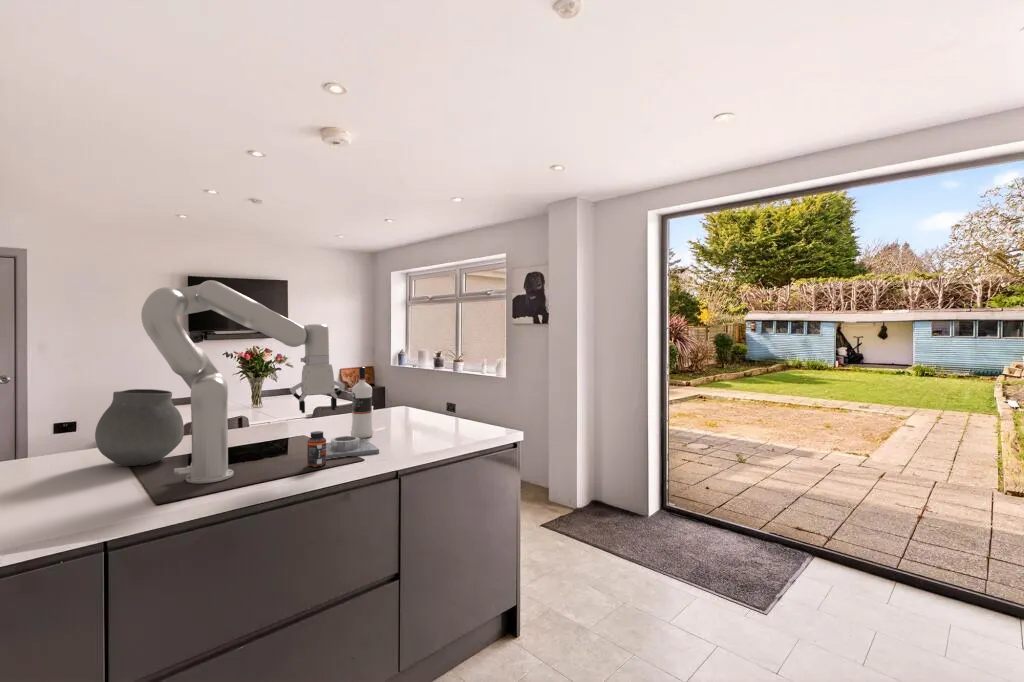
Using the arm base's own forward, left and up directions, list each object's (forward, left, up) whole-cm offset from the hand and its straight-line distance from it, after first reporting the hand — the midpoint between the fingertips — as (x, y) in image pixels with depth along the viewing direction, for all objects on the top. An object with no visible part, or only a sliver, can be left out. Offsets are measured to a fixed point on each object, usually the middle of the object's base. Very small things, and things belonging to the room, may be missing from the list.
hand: (318, 411), depth 169 cm
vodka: (+25, +38, -19) cm, 49 cm away
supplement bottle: (0, 0, -19) cm, 19 cm away
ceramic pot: (-51, +32, -19) cm, 63 cm away
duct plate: (+13, +16, -18) cm, 27 cm away
